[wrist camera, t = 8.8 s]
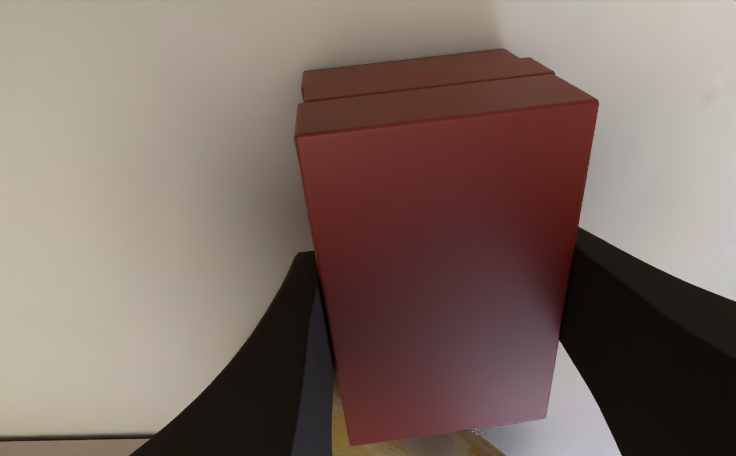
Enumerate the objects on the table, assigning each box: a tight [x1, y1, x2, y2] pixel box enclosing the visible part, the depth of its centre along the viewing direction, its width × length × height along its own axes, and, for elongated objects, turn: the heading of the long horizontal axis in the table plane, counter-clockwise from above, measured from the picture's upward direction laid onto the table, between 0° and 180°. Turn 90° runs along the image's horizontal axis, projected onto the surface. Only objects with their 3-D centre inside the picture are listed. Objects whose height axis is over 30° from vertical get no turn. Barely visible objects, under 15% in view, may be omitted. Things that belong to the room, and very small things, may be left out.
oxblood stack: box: [301, 49, 555, 103], centre depth 14 cm, size 9×6×3 cm, turn 5°
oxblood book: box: [294, 74, 599, 446], centre depth 12 cm, size 9×6×2 cm, turn 5°
